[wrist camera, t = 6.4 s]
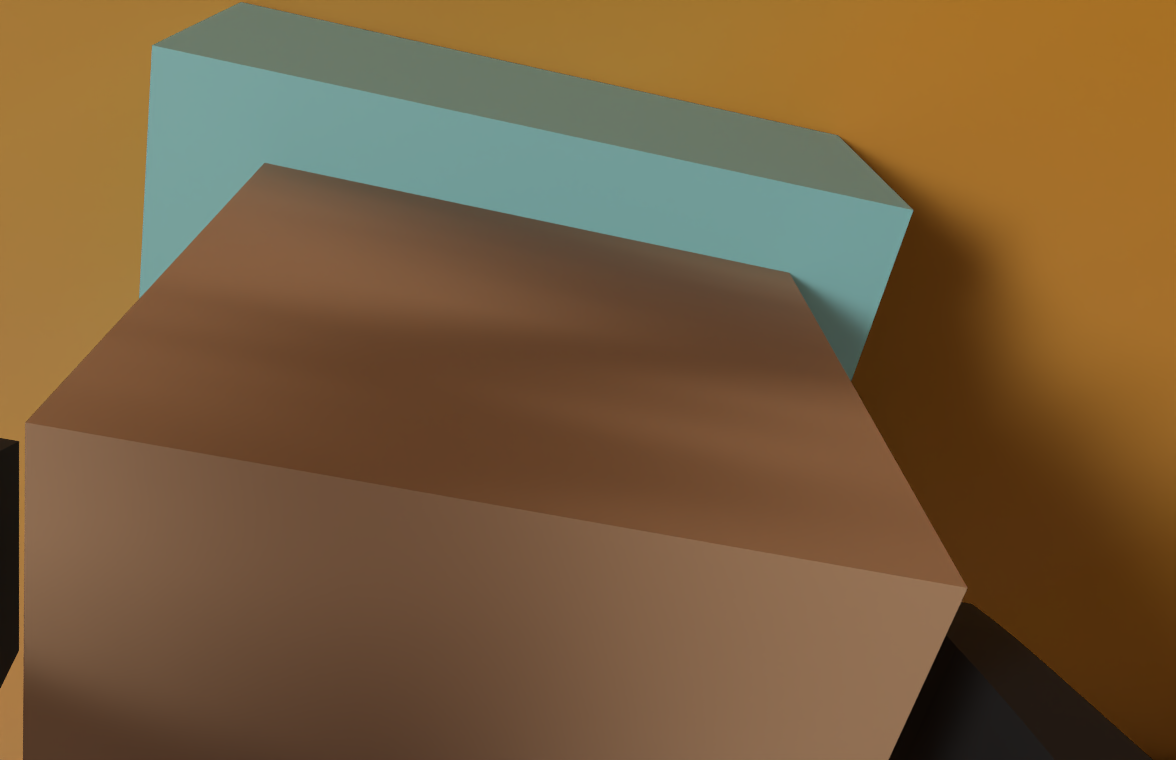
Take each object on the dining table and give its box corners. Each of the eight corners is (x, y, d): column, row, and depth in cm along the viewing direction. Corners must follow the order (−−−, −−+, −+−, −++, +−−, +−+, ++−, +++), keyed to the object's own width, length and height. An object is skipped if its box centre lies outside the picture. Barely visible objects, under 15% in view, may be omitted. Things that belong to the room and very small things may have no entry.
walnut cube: (789, 271, 10) (967, 588, 6) (658, 671, 13) (719, 1126, 8) (263, 162, 10) (25, 422, 5) (220, 601, 12) (19, 1052, 7)
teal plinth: (838, 136, 13) (912, 210, 10) (686, 603, 16) (714, 757, 13) (241, 2, 12) (152, 45, 9) (197, 522, 15) (120, 668, 12)
